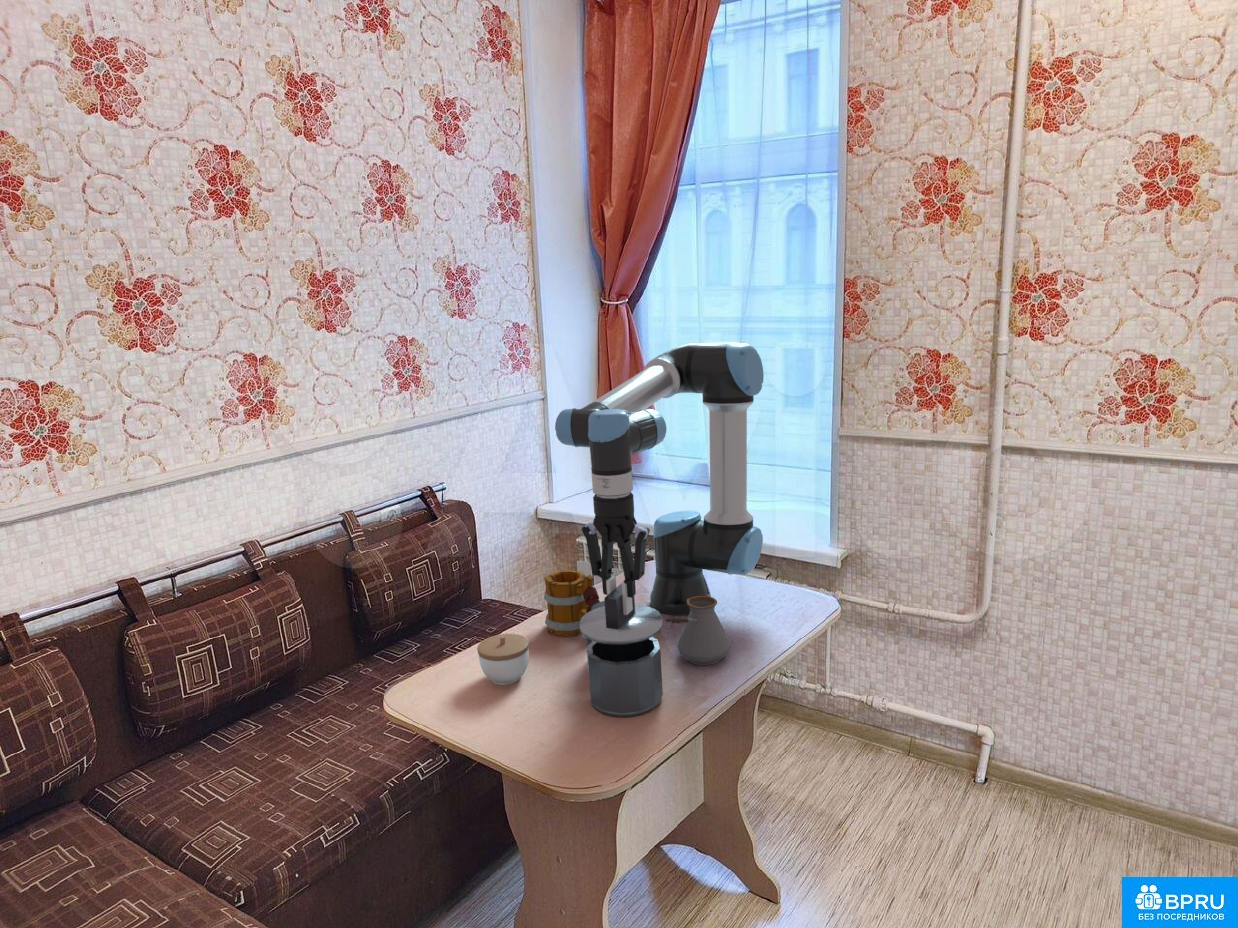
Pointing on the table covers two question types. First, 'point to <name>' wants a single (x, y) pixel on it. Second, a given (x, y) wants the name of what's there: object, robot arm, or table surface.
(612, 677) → the pot
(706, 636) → the coffee pot
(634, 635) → the lid
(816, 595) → the table surface
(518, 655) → the lidded jar
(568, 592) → the mug
